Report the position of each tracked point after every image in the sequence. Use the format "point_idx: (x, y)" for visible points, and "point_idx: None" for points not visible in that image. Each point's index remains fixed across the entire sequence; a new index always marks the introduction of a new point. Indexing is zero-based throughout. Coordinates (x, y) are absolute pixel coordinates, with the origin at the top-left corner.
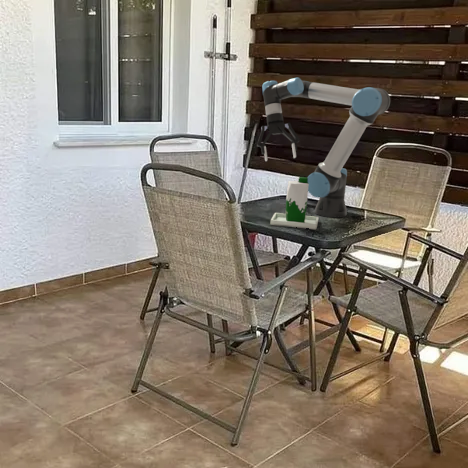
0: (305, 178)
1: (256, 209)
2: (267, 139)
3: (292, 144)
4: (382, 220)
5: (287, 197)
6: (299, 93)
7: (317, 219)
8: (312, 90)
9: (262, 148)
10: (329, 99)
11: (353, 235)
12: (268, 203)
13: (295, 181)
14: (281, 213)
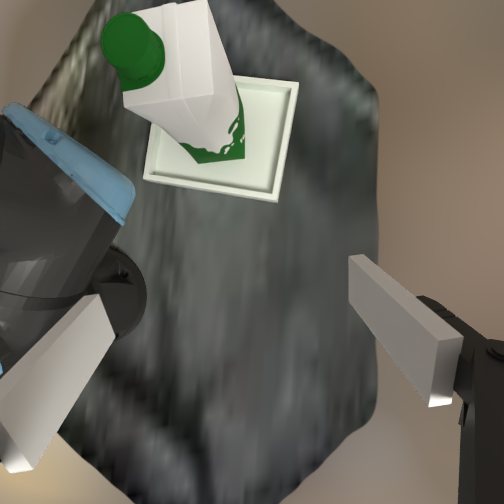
0: (115, 16)
1: (331, 310)
2: (485, 470)
3: (18, 419)
4: None
5: (233, 77)
6: None
7: (150, 139)
8: None
9: (465, 333)
10: None
11: (77, 40)
12: (284, 419)
13: (177, 54)
14: (255, 195)
